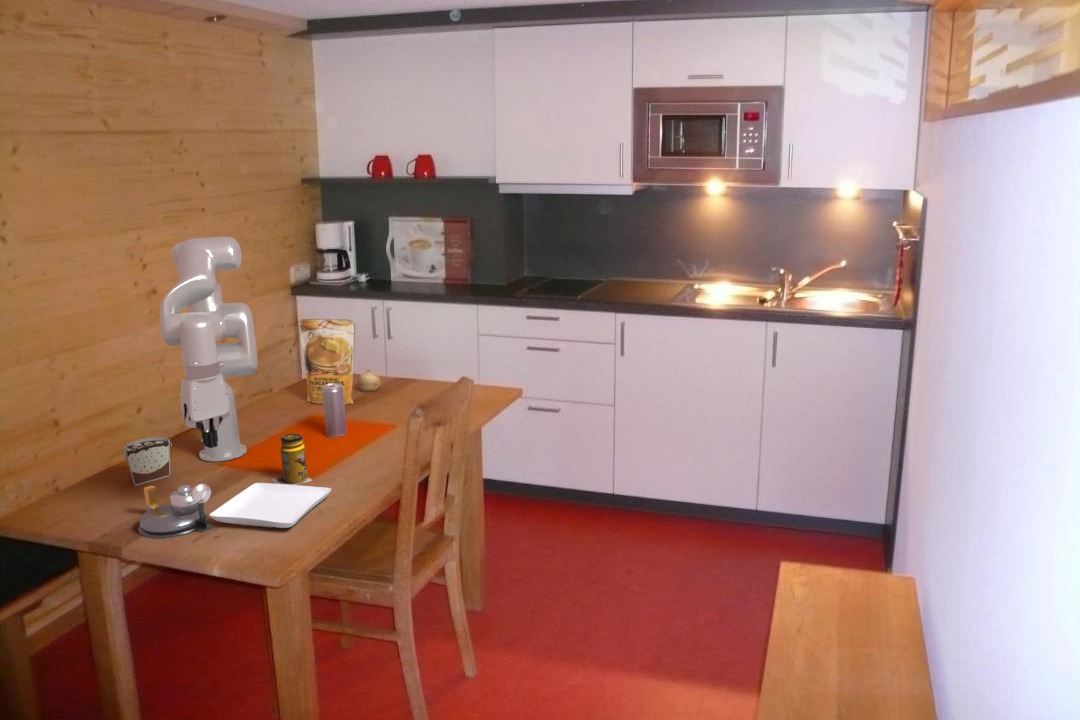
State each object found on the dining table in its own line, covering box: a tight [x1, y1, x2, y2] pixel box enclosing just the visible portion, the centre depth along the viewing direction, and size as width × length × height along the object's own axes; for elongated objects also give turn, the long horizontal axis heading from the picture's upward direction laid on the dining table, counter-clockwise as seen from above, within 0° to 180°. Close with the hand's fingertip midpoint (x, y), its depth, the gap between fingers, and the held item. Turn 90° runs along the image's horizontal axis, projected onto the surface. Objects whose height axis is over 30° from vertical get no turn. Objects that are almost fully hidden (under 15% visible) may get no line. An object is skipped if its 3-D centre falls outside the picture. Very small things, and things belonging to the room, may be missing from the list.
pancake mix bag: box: [297, 318, 356, 406], centre depth 301 cm, size 7×19×28 cm, turn 77°
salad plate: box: [208, 482, 332, 529], centre depth 216 cm, size 21×21×3 cm
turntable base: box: [138, 512, 209, 539], centre depth 211 cm, size 15×15×1 cm
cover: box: [169, 484, 199, 515], centre depth 213 cm, size 6×6×6 cm
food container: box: [122, 436, 173, 487], centre depth 240 cm, size 12×6×10 cm, turn 134°
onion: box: [356, 369, 381, 393], centre depth 317 cm, size 8×8×7 cm
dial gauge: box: [191, 483, 214, 533], centre depth 207 cm, size 3×4×11 cm
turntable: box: [139, 485, 206, 535], centre depth 212 cm, size 18×14×6 cm
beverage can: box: [322, 383, 347, 438], centre depth 270 cm, size 6×6×15 cm
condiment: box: [271, 432, 313, 485], centre depth 235 cm, size 7×8×12 cm
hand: (211, 446), depth 216 cm, fingers closed
